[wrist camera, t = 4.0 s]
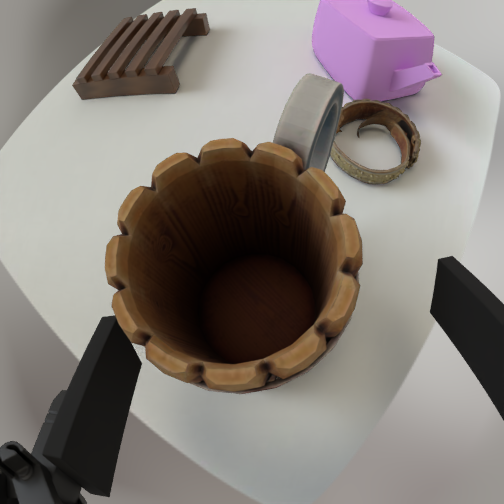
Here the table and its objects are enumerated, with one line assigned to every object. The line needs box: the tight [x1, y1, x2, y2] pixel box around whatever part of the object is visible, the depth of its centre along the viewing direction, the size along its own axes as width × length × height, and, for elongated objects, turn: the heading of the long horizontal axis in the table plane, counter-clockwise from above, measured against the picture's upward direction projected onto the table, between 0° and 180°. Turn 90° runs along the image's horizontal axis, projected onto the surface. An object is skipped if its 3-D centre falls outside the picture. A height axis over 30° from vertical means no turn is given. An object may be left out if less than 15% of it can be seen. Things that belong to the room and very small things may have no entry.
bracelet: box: [330, 99, 421, 184], centre depth 26 cm, size 9×9×3 cm
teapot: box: [312, 0, 442, 101], centre depth 26 cm, size 18×10×10 cm, turn 21°
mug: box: [105, 74, 363, 394], centre depth 17 cm, size 16×11×15 cm
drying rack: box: [72, 8, 210, 99], centre depth 33 cm, size 14×14×4 cm
